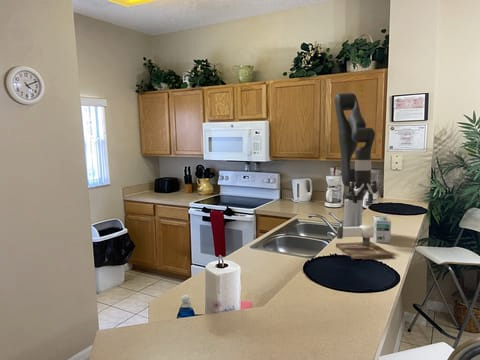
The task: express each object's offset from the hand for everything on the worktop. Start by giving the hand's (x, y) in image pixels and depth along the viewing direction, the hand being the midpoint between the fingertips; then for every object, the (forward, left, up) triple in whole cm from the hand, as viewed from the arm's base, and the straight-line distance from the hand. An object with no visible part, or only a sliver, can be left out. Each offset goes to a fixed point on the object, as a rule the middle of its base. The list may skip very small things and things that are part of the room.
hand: (362, 202), depth 169 cm
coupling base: (+19, -9, -18) cm, 28 cm away
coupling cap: (+15, -11, -12) cm, 22 cm away
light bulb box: (+3, +8, -18) cm, 20 cm away
